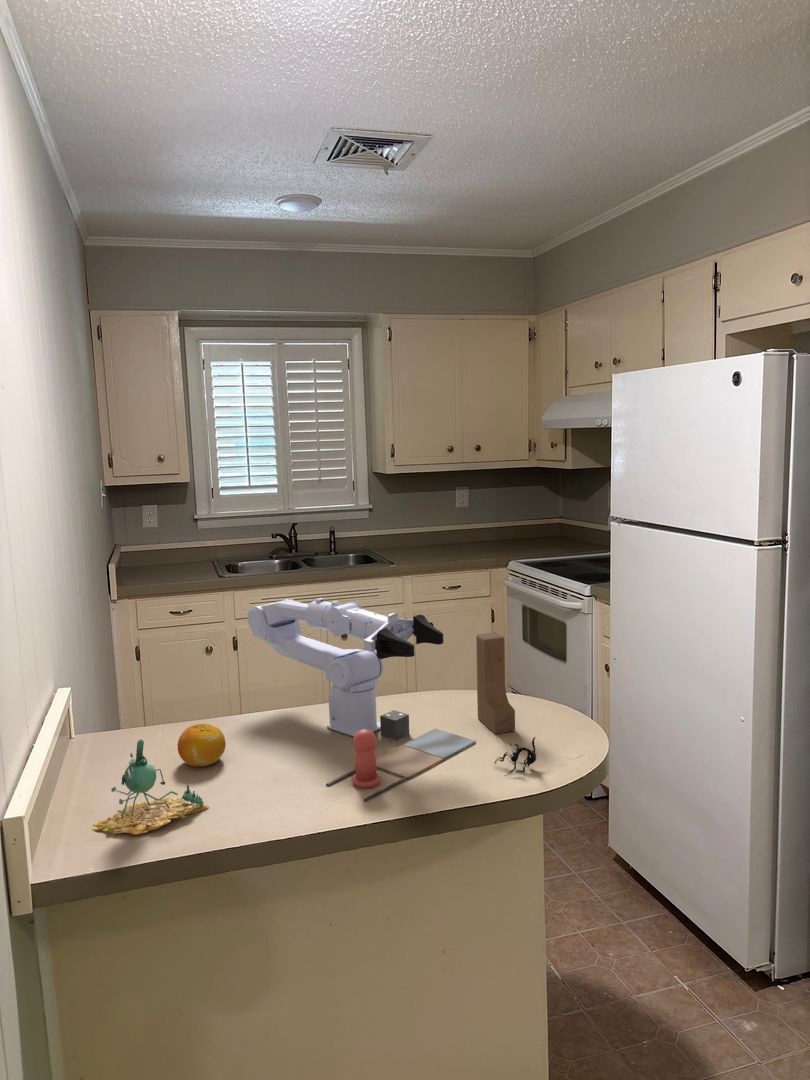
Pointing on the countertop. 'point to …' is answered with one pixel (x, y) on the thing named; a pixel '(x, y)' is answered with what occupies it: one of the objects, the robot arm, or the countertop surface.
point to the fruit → (201, 745)
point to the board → (416, 756)
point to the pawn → (365, 760)
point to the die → (394, 725)
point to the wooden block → (493, 684)
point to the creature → (515, 756)
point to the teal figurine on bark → (149, 812)
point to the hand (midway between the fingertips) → (427, 644)
